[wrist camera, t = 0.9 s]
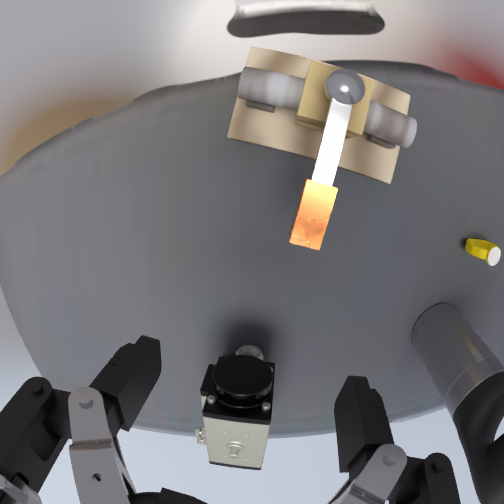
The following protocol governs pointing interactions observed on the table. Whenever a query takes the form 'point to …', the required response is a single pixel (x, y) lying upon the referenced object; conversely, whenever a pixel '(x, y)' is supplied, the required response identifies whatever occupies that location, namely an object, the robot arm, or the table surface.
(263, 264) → the table surface
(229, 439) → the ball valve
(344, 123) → the lever
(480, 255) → the watch
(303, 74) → the valve rig
